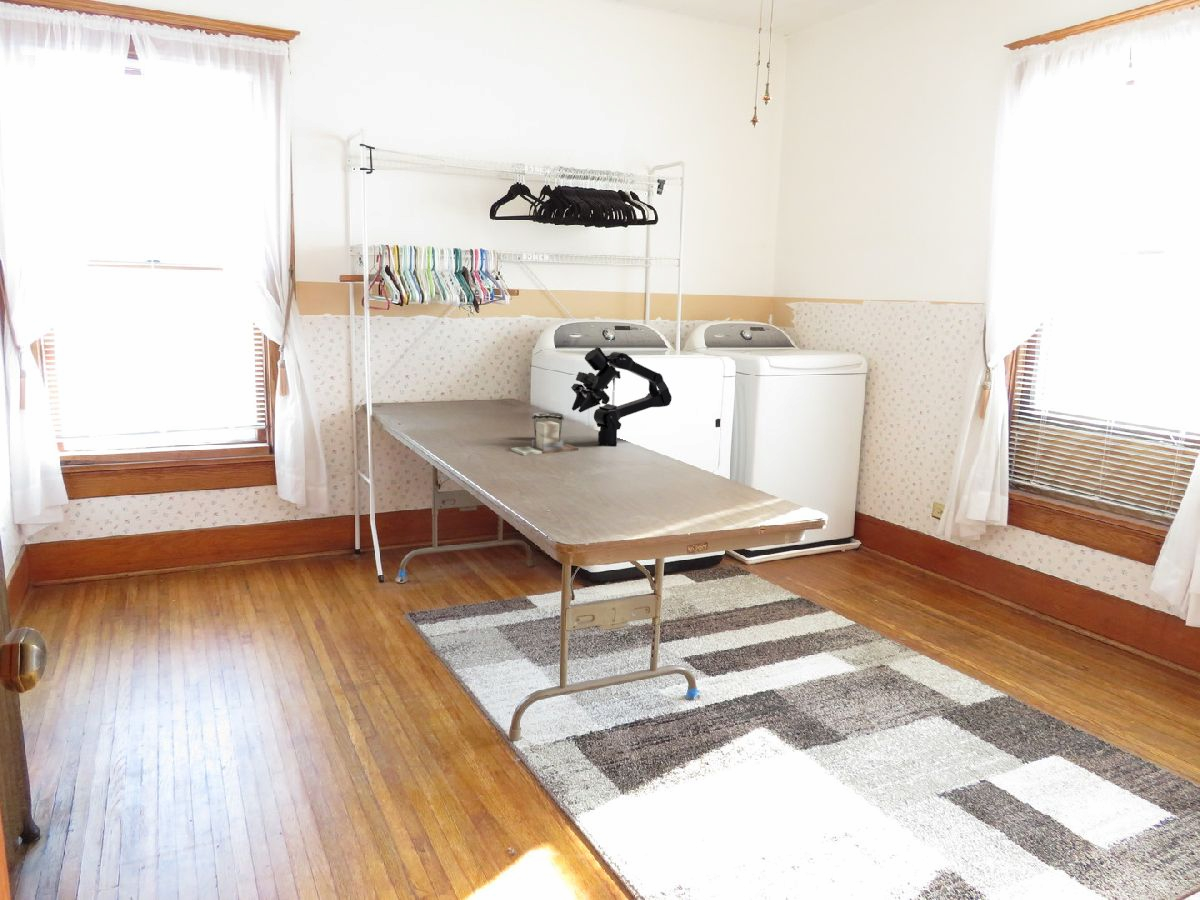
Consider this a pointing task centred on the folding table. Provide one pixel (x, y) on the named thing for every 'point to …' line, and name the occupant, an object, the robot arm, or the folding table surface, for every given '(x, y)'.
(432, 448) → the folding table surface
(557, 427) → the block
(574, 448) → the chute
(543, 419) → the food container
